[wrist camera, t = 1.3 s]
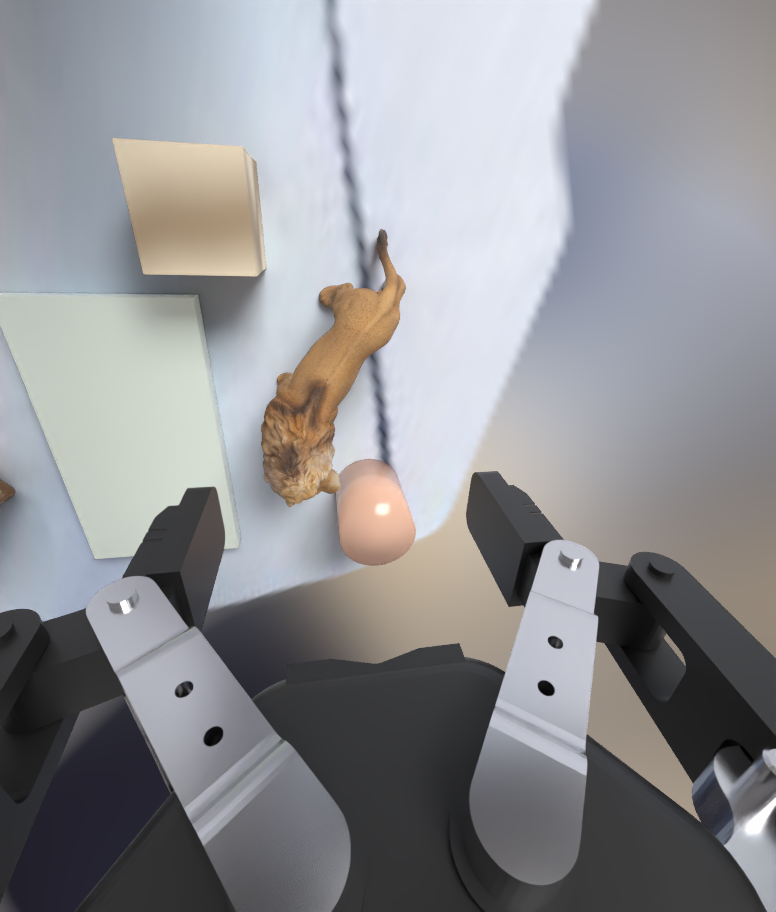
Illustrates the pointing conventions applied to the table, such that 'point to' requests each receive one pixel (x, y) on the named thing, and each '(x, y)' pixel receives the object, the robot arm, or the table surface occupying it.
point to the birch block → (193, 207)
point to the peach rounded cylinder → (373, 513)
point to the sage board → (122, 406)
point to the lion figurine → (326, 386)
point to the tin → (5, 492)
